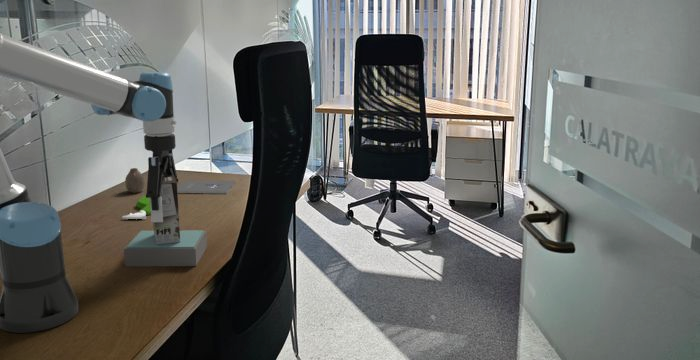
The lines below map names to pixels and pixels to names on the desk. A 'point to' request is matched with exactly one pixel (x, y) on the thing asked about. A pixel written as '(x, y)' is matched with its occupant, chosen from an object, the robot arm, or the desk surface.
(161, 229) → the coffee box
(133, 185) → the vase
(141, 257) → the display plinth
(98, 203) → the desk surface
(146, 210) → the spray bottle
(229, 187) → the play button award
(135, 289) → the desk surface
